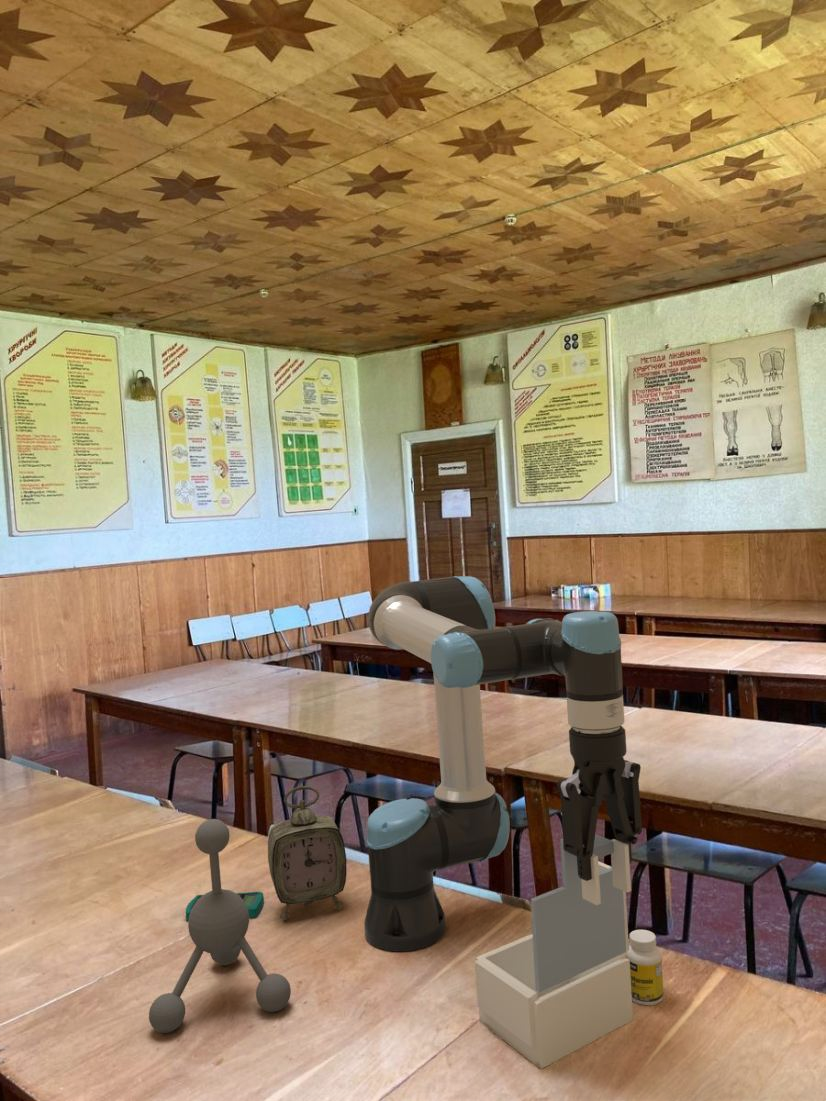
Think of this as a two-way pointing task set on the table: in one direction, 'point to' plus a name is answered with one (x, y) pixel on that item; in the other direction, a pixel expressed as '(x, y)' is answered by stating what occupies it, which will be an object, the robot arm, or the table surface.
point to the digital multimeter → (250, 898)
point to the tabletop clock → (306, 857)
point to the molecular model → (217, 938)
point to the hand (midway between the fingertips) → (606, 894)
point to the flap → (576, 923)
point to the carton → (551, 1001)
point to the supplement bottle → (645, 968)
